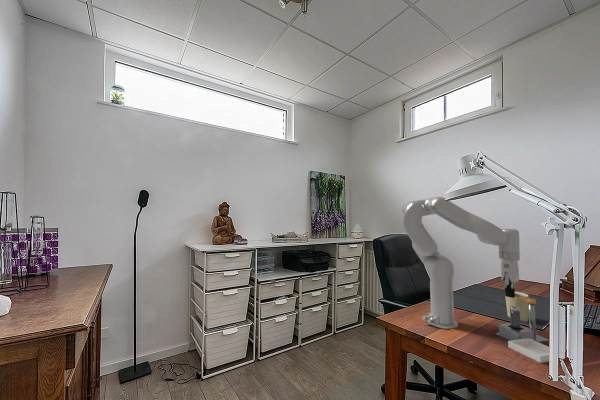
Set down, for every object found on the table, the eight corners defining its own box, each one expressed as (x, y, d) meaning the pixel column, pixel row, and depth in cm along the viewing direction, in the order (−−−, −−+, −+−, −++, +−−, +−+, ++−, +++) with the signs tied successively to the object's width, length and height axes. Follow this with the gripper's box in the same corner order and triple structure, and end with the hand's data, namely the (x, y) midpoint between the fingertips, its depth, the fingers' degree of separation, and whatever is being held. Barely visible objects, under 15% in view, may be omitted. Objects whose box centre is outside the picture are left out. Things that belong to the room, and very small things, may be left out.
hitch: (519, 346, 103) (517, 310, 104) (494, 334, 113) (493, 302, 113) (550, 341, 107) (548, 306, 107) (524, 330, 116) (522, 299, 117)
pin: (517, 339, 107) (515, 309, 108) (509, 336, 110) (507, 306, 111) (523, 338, 108) (521, 308, 108) (515, 335, 111) (513, 306, 112)
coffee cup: (518, 314, 134) (517, 290, 135) (535, 322, 125) (534, 296, 126) (501, 315, 134) (500, 291, 135) (516, 322, 125) (515, 297, 125)
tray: (540, 364, 90) (540, 356, 91) (508, 348, 101) (508, 341, 101) (562, 360, 93) (561, 352, 93) (528, 345, 103) (528, 338, 104)
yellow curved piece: (505, 293, 124) (504, 290, 124) (511, 293, 124) (511, 290, 124) (530, 304, 110) (530, 300, 110) (538, 304, 110) (537, 300, 110)
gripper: (515, 258, 113) (516, 302, 112) (523, 255, 123) (524, 295, 122) (494, 256, 119) (495, 298, 118) (503, 253, 128) (503, 291, 128)
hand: (509, 296), depth 120 cm, fingers closed
